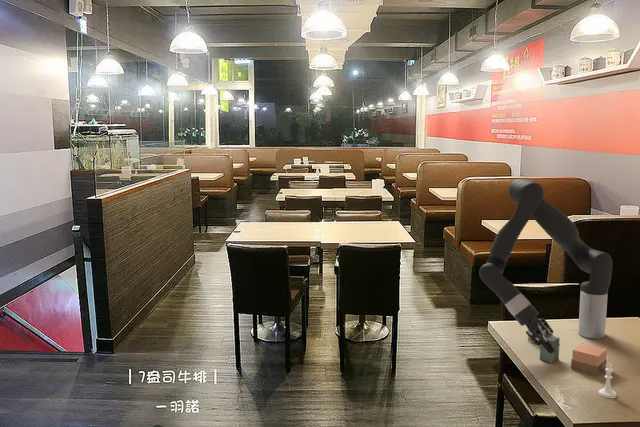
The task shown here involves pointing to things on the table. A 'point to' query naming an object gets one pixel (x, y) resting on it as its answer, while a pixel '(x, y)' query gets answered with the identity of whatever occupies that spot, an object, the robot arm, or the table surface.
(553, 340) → the green pillar block
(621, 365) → the table surface
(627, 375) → the table surface
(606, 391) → the chess piece
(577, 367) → the walnut base block
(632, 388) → the table surface
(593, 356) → the terracotta top block
